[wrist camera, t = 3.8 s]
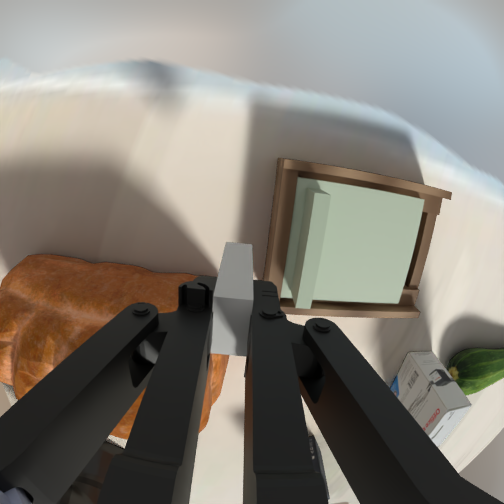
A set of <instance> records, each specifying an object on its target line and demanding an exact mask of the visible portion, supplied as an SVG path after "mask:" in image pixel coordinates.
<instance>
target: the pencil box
mask: <svg viewBox="0 0 504 504" xmlns="http://www.w3.org/2000/svg"><path fill="white" fill-rule="evenodd" d="M298 177H303V178H311V179H318V180H324V181H331V182H337V183H344V184H350V185H355V186H361V187H367V188H372V189H378V190H383V191H388V192H393V193H398V194H403V195H408V196H412V197H417V198H421V199H424V205H423V211H422V216H421V220H420V225H419V230H418V234H417V238H416V243H415V247H414V251H413V255H412V259H411V262H410V266H409V270H408V273H407V277H406V280H405V284H404V287H403V290H402V294H401V297H400V300H399V303H398V304H395V303H367V302H346V301H327V300H312V303H311V308H310V309H303V308H295V304H294V301H293V298H281V297H280V296H281V289H282V283H283V277H284V270H285V264H286V257H287V251H288V244H289V237H290V230H291V223H292V216H293V208H294V201H295V193H296V186H297V178H298ZM451 195H452V192H449V191H445V190H442V189H438V188H435V187H431V186H427V185H423V184H419V183H415V182H411V181H407V180H403V179H398V178H394V177H389V176H384V175H380V174H375V173H370V172H365V171H360V170H354V169H349V168H343V167H337V166H331V165H325V164H319V163H312V162H306V161H298V160H291V159H283V158H278V163H277V172H276V180H275V189H274V197H273V206H272V214H271V222H270V230H269V238H268V246H267V254H266V262H265V270H264V278H263V281H272V282H273V283H274V284H275V285H276V286H277V291H278V297H279V302H280V308H281V310H282V311H283V312H284V313H285V314H294V315H312V316H334V317H366V318H418V317H419V314H420V311H419V310H418V309H417V308H416V307H415V306H414V305H415V302H416V299H417V296H418V293H419V289H418V286H419V283H420V279H421V276H422V272H423V269H424V265H425V262H426V258H427V254H428V251H429V247H430V243H431V239H432V234H433V230H434V226H435V221H436V216H437V215H439V213H440V208H441V203H442V198H446V199H449V200H451Z"/></svg>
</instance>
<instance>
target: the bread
mask: <svg viewBox="0 0 504 504" xmlns="http://www.w3.org/2000/svg"><path fill="white" fill-rule="evenodd" d="M197 277H198V276H195V275H191V274H187V273H153V272H151V271H149V270H147V269H145V268H143V267H138V266H133V265H125V264H117V263H109V262H103V263H95V264H92V263H89V262H86V261H84V260H81V259H77V258H71V257H64V256H58V255H52V254H37V255H28V256H27V257H26V258H25V259H23V260H22V261H21V262H20V263H19V264H17V265H16V266H15V267H14V268H13V269H12V270H11V271H10V272H9V273H8V274H7V275H6V276H5V277H4V279H3V280H2V283H1V286H0V382H3V383H6V384H9V385H12V386H13V388H14V392H15V395H16V399H18V400H19V399H21V398H22V397H23V396H24V395H25V394H26V393H27V392H28V391H29V390H30V389H32V388H33V387H34V386H35V385H36V384H37V383H38V382H39V381H40V380H42V379H43V378H44V377H45V376H46V375H47V374H48V373H49V372H51V371H52V370H53V369H54V368H55V367H56V366H57V365H59V364H60V363H61V362H62V361H63V360H64V359H65V358H67V357H68V356H69V355H70V354H71V353H72V352H74V351H75V350H76V349H77V348H78V347H79V346H81V345H82V344H83V343H84V342H85V341H86V340H88V339H89V338H90V337H91V336H92V335H93V334H95V333H96V332H97V331H98V330H99V329H101V328H102V327H103V326H104V325H105V324H107V323H108V322H109V321H110V320H111V319H113V318H114V317H115V316H116V315H117V314H119V313H120V312H121V311H122V310H124V309H125V308H126V307H127V306H129V305H131V304H134V303H137V302H145V303H150V304H153V305H155V306H156V307H157V308H158V313H168V312H173V311H176V310H177V308H178V286H179V285H180V284H182V283H184V282H188V281H193V280H194V279H195V278H197ZM228 359H229V355H224V354H215V353H211V350H210V364H209V370H208V376H207V382H206V389H205V395H204V401H203V408H202V414H201V421H200V428H199V433H200V432H201V431H202V430H203V429H204V428H205V427H206V424H207V422H208V419H209V415H210V410H211V406H212V405H213V404H214V402H215V401H216V400H217V398H218V397H219V395H220V393H221V388H222V384H223V380H224V376H225V372H226V368H227V364H228ZM146 387H147V386H146ZM145 390H146V388H145V389H144V390H143V392H142V393H141V394H140V395H139V397H138V398H137V399H136V401H135V402H134V403H133V405H132V406H131V407H130V409H129V410H128V411H127V412H126V414H125V415H124V416H123V418H122V419H121V420H120V422H119V423H118V424H117V426H116V427H115V428H114V429H113V431H112V432H111V433H110V435H113V436H115V437H119V438H123V439H128V438H129V435H130V432H131V429H132V426H133V423H134V420H135V417H136V414H137V412H138V409H139V406H140V403H141V401H142V398H143V395H144V392H145Z"/></svg>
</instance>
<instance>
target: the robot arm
mask: <svg viewBox="0 0 504 504" xmlns="http://www.w3.org/2000/svg"><path fill="white" fill-rule="evenodd" d="M210 350H211V353H215V354H224V355H235V356H247V357H246V365H245V373H244V377H245V421H244V475H243V504H328V498H327V492H326V487H325V482H324V479H323V476H322V475H321V473H319V472H315V470H314V467H313V463H312V457H311V451H310V445H309V439H308V433H307V427H306V421H305V415H304V410H303V404H302V398H301V395H302V397H303V399H304V401H305V403H306V405H307V407H308V408H309V410H310V412H311V414H312V416H313V418H314V420H315V422H316V424H317V425H318V427H319V429H320V431H321V433H322V435H323V437H324V439H325V440H326V442H327V444H328V446H329V448H330V450H331V452H332V453H333V455H334V457H335V459H336V461H337V463H338V464H339V466H340V468H341V470H342V472H343V474H344V475H345V477H346V479H347V481H348V483H349V485H350V486H351V488H352V490H353V492H354V494H355V495H356V497H357V499H358V501H359V503H360V504H504V503H503V502H501V501H499V500H498V499H496V498H494V497H493V496H491V495H489V494H488V493H486V492H484V491H483V490H481V489H479V488H478V487H476V486H475V485H473V484H471V483H470V482H468V481H467V480H465V479H464V478H462V477H460V475H459V474H458V473H457V471H456V470H455V469H454V468H453V466H452V465H451V464H450V462H449V461H448V460H447V459H446V457H445V456H444V455H443V454H442V452H441V451H440V450H439V449H438V447H437V446H436V445H435V444H434V442H433V441H432V440H431V439H430V437H429V436H428V435H427V434H426V432H425V431H424V430H423V429H422V427H421V426H420V425H419V424H418V422H417V421H416V420H415V419H414V418H413V416H412V415H411V414H410V413H409V411H408V410H407V409H406V408H405V406H404V405H403V404H402V403H401V402H400V400H399V399H398V398H397V397H396V396H395V394H394V393H393V392H392V391H391V389H390V388H389V387H388V386H387V385H386V383H385V382H384V381H383V380H382V379H381V377H380V376H379V375H378V374H377V372H376V371H375V370H374V369H373V368H372V366H371V365H370V364H369V363H368V362H367V360H366V359H365V358H364V357H363V356H362V354H361V353H360V352H359V351H358V350H357V349H356V347H355V346H354V345H353V344H352V343H351V341H350V340H349V339H348V338H347V337H346V335H345V334H344V333H343V332H342V331H341V330H340V328H339V327H338V326H337V325H336V324H335V323H334V322H332V321H330V320H328V319H324V318H312V319H309V320H308V321H306V324H305V326H302V325H298V324H295V323H292V322H290V321H288V320H287V318H286V315H285V313H284V312H283V311H282V310H281V308H280V302H279V297H278V291H277V286H276V285H275V284H274V283H273V282H272V281H260V280H253V254H252V244H243V243H233V242H226V245H225V249H224V253H223V257H222V261H221V265H220V269H219V274H218V277H210V276H198V277H197V278H195V279H194V280H193V281H188V282H184V283H182V284H180V285H179V286H178V308H177V310H176V311H173V312H168V313H158V308H157V307H156V306H155V305H153V304H150V303H145V302H137V303H134V304H131V305H129V306H127V307H126V308H125V309H124V310H122V311H121V312H120V313H119V314H117V315H116V316H115V317H114V318H113V319H111V320H110V321H109V322H108V323H107V324H105V325H104V326H103V327H102V328H101V329H99V330H98V331H97V332H96V333H95V334H93V335H92V336H91V337H90V338H89V339H88V340H86V341H85V342H84V343H83V344H82V345H81V346H79V347H78V348H77V349H76V350H75V351H74V352H72V353H71V354H70V355H69V356H68V357H67V358H65V359H64V360H63V361H62V362H61V363H60V364H59V365H57V366H56V367H55V368H54V369H53V370H52V371H51V372H49V373H48V374H47V375H46V376H45V377H44V378H43V379H42V380H40V381H39V382H38V383H37V384H36V385H35V386H34V387H33V388H32V389H30V390H29V391H28V392H27V393H26V394H25V395H24V396H23V397H22V398H21V399H19V400H18V401H17V402H16V403H15V404H14V405H13V406H12V407H11V408H10V409H9V410H8V411H7V412H5V413H4V414H3V415H2V416H1V417H0V504H189V499H190V492H191V484H192V477H193V469H194V462H195V455H196V448H197V441H198V434H199V428H200V421H201V414H202V408H203V401H204V395H205V389H206V382H207V376H208V370H209V364H210ZM146 386H147V387H146ZM145 388H146V390H145V392H144V395H143V398H142V401H141V403H140V406H139V409H138V412H137V414H136V417H135V420H134V423H133V426H132V429H131V432H130V435H129V438H128V440H127V443H126V446H125V449H124V450H123V449H121V448H119V447H117V446H115V445H113V444H110V443H108V442H105V440H106V439H107V437H108V436H109V435H110V433H111V432H112V431H113V429H114V428H115V427H116V426H117V424H118V423H119V422H120V420H121V419H122V418H123V416H124V415H125V414H126V412H127V411H128V410H129V409H130V407H131V406H132V405H133V403H134V402H135V401H136V399H137V398H138V397H139V395H140V394H141V393H142V392H143V390H144V389H145Z"/></svg>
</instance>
